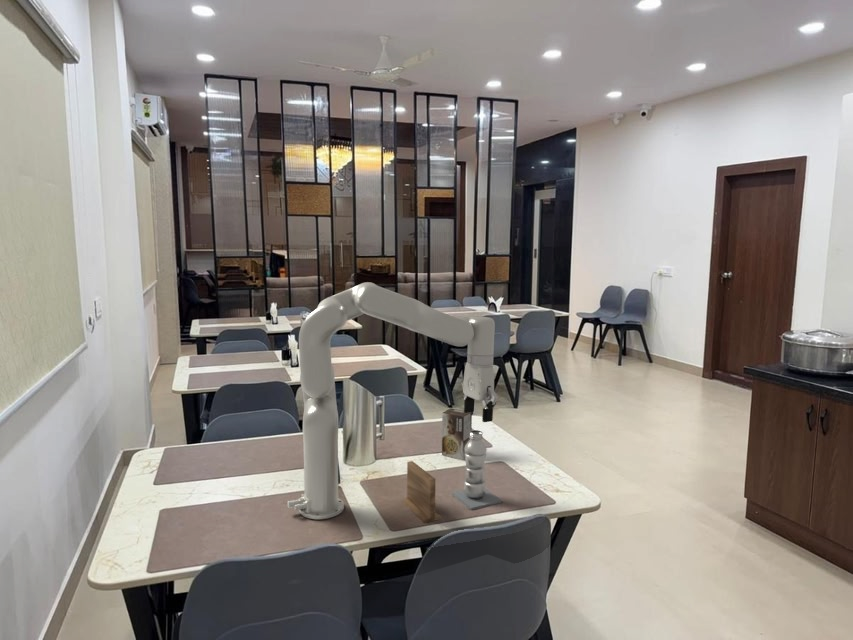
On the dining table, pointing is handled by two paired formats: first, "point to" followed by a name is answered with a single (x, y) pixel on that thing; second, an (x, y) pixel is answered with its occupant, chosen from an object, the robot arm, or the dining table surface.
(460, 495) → the mat
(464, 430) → the coffee box
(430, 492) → the wooden stand
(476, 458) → the plastic bottle
